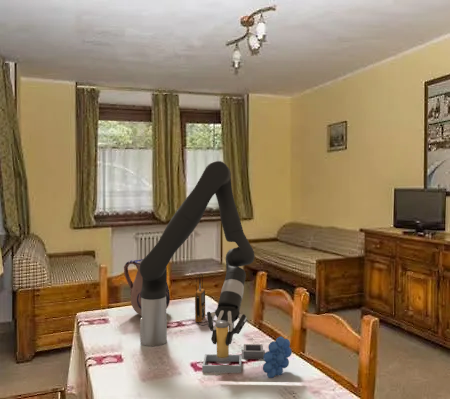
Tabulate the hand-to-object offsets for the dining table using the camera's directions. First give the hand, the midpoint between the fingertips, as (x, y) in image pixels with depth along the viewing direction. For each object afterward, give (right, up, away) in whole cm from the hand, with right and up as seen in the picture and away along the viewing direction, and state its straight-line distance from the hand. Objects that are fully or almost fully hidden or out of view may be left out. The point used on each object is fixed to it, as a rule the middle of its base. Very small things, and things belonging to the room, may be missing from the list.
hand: (220, 343), depth 134 cm
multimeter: (-6, -7, +51) cm, 52 cm away
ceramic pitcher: (-34, -7, +61) cm, 70 cm away
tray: (+1, -9, +2) cm, 9 cm away
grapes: (+17, -9, -3) cm, 19 cm away
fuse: (+1, -6, +2) cm, 6 cm away
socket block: (+11, -8, +12) cm, 18 cm away
